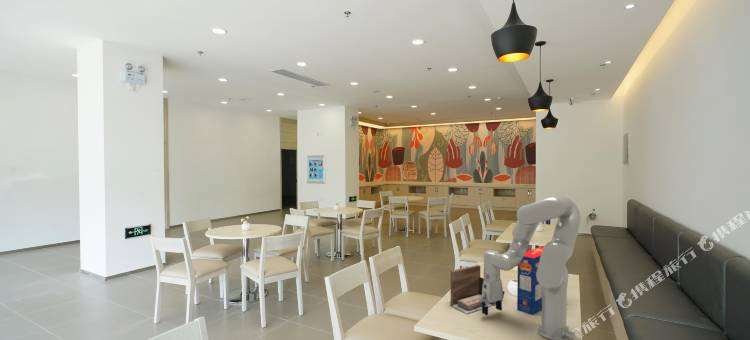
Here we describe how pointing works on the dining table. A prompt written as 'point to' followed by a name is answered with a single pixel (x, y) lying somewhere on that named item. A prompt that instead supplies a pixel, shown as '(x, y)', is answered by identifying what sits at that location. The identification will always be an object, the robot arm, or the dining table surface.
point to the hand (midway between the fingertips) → (491, 311)
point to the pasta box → (529, 283)
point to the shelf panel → (464, 283)
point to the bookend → (481, 289)
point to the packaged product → (469, 304)
